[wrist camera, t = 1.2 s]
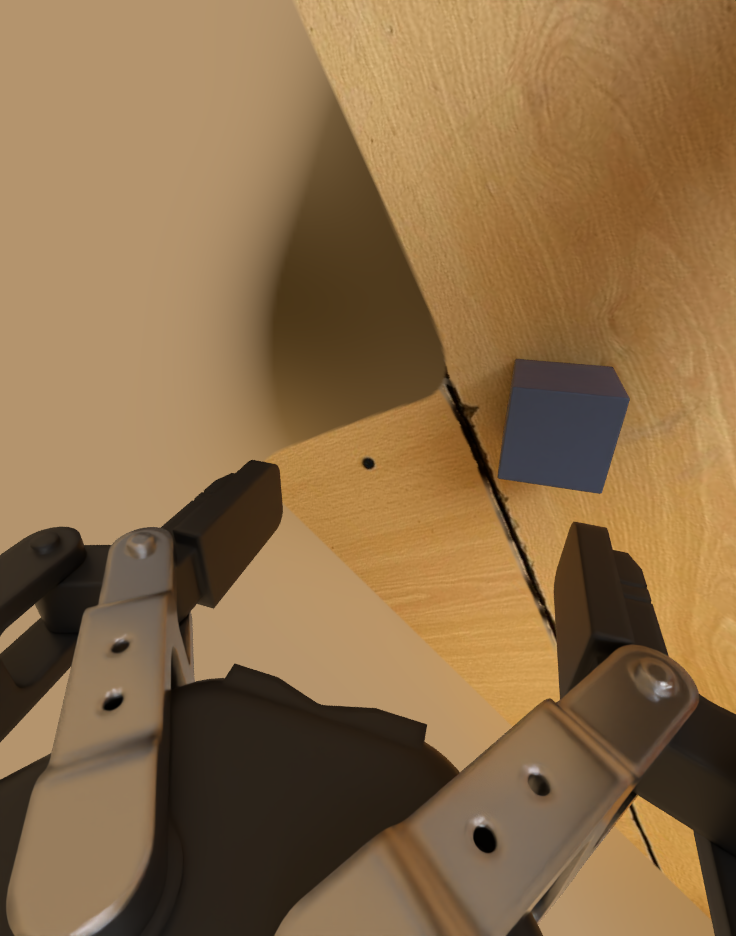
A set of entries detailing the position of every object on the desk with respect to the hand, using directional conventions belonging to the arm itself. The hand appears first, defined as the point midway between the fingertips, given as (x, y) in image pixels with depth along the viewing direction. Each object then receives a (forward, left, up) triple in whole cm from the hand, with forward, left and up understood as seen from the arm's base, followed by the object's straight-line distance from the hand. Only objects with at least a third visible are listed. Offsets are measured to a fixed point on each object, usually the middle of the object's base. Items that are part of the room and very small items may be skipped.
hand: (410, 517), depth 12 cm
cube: (+2, +5, -16) cm, 17 cm away
